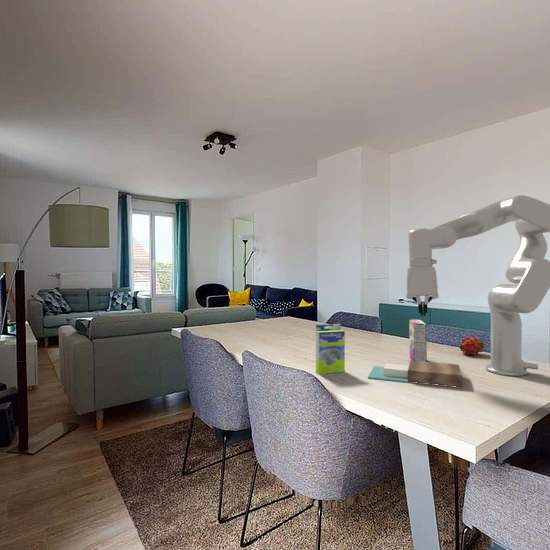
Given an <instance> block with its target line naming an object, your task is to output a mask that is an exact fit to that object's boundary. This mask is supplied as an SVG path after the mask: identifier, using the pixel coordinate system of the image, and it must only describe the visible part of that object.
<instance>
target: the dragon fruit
mask: <svg viewBox="0 0 550 550" xmlns="http://www.w3.org/2000/svg"><path fill="white" fill-rule="evenodd" d="M484 348H485V344H484V341H482V340H481V338H480V337H477V338H475V337H474V336H473V335H472V336H471V337H467V336H466V337H465V338H464V339H462V340H461V341H460V345H459V350H460V351H461V352H462V355H464V354H465V355H466V356H470V355H473V356H475V357H476V356H477V355H479V353H483V352H484V351H485V349H484ZM465 355H464V356H465Z"/></svg>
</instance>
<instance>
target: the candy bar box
mask: <svg viewBox="0 0 550 550" xmlns="http://www.w3.org/2000/svg"><path fill="white" fill-rule="evenodd" d="M408 324H409V325H408V326H409V359H410V360H411V361H423V362H428V360H427V357H428V356H427V350H428V349H427V323H426V322H424V321H423V320H422V319H409V323H408Z"/></svg>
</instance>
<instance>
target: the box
mask: <svg viewBox="0 0 550 550" xmlns="http://www.w3.org/2000/svg"><path fill="white" fill-rule="evenodd" d="M325 327H330V328H325ZM345 332H346V331H345V330H343V329H342V328H341V323H332V324H331V323H330V324H316V325H315V331H314V335H315V372H316V373H317V374H319V375H324V374H333V373H334V374H335V373H336V374H337V373H345V371H346V367H345V363H346V362H345V361H346V360H345V357H346V355H345V352H346V351H345V350H346V347H345V344H346V340H345V339H346V337H345V336H346V333H345Z"/></svg>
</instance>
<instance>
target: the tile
mask: <svg viewBox="0 0 550 550" xmlns="http://www.w3.org/2000/svg"><path fill="white" fill-rule="evenodd" d="M383 367H384V368H383V375H384V376H393V377H402V378H408V368H409V365H406V364H397V363H395V364H394V363H385V364H384V366H383Z"/></svg>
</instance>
